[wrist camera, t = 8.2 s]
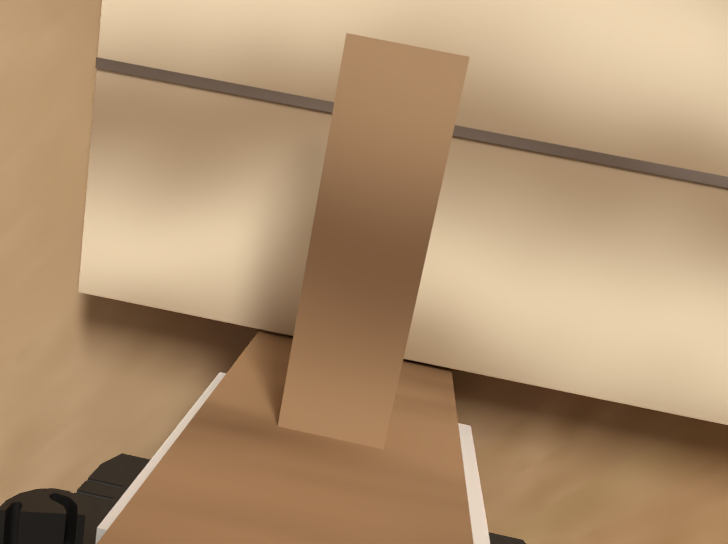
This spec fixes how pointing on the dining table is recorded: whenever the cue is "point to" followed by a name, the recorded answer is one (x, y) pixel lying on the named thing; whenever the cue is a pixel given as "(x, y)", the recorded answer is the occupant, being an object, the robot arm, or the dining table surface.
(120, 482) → the robot arm
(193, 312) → the board
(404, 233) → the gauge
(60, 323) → the dining table surface
